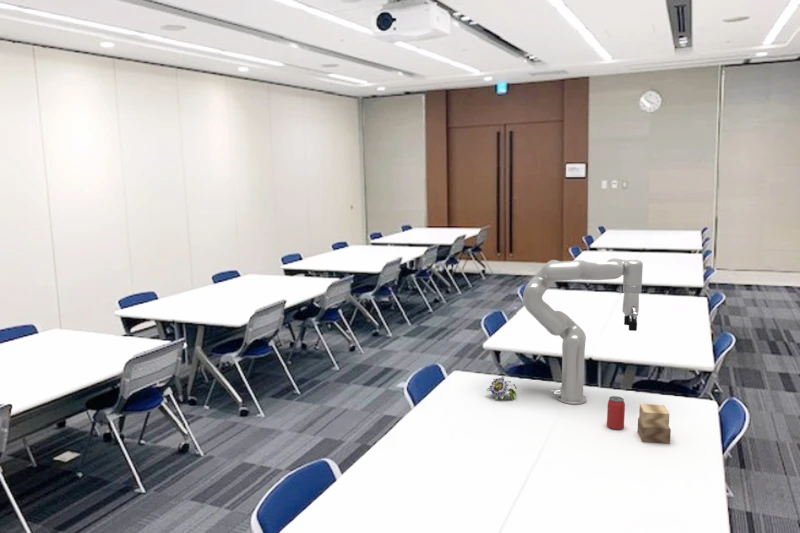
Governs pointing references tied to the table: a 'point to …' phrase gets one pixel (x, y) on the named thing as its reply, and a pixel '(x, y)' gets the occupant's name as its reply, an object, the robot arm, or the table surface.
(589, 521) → the table surface
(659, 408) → the oak block
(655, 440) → the walnut block
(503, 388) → the passion flower
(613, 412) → the beer can
